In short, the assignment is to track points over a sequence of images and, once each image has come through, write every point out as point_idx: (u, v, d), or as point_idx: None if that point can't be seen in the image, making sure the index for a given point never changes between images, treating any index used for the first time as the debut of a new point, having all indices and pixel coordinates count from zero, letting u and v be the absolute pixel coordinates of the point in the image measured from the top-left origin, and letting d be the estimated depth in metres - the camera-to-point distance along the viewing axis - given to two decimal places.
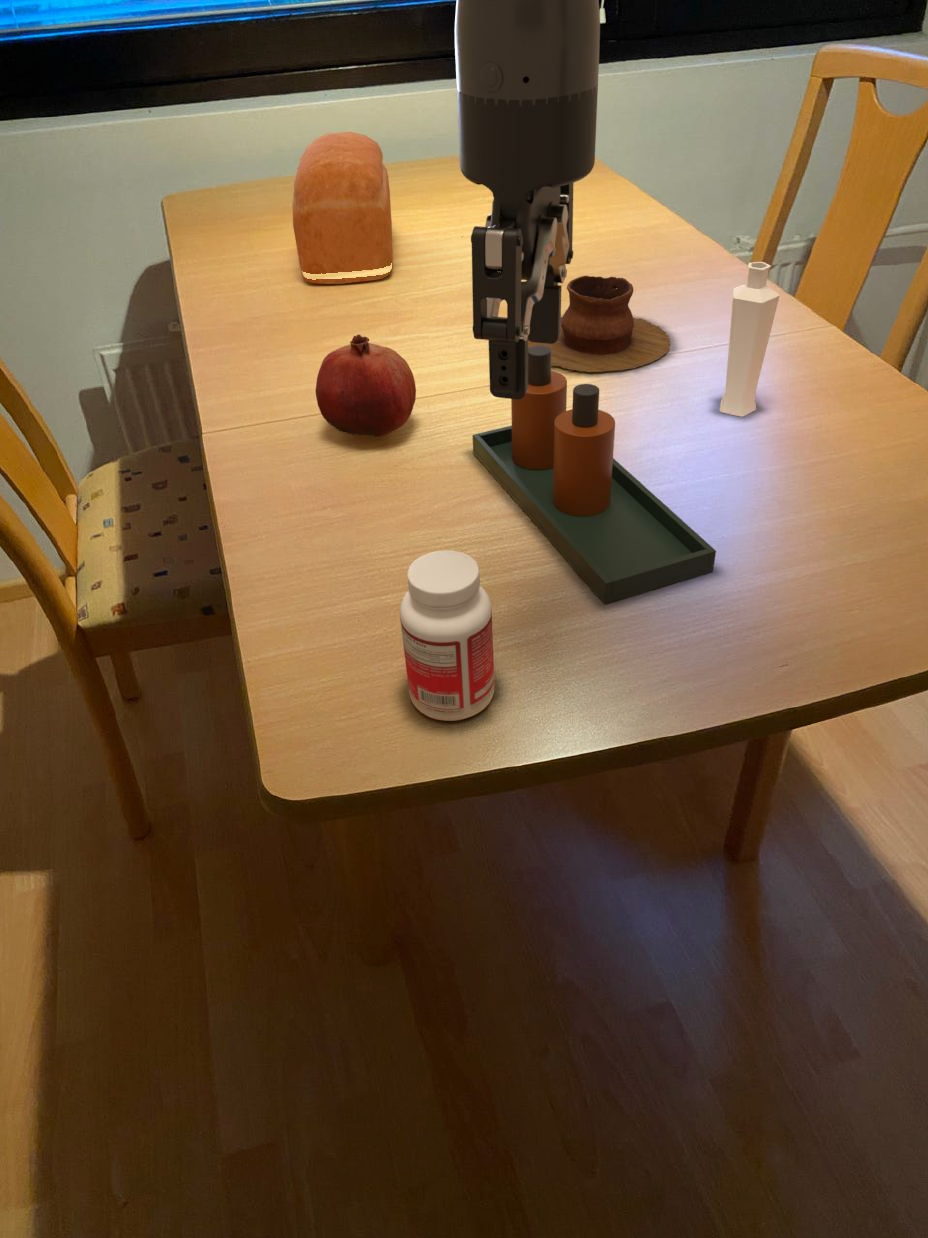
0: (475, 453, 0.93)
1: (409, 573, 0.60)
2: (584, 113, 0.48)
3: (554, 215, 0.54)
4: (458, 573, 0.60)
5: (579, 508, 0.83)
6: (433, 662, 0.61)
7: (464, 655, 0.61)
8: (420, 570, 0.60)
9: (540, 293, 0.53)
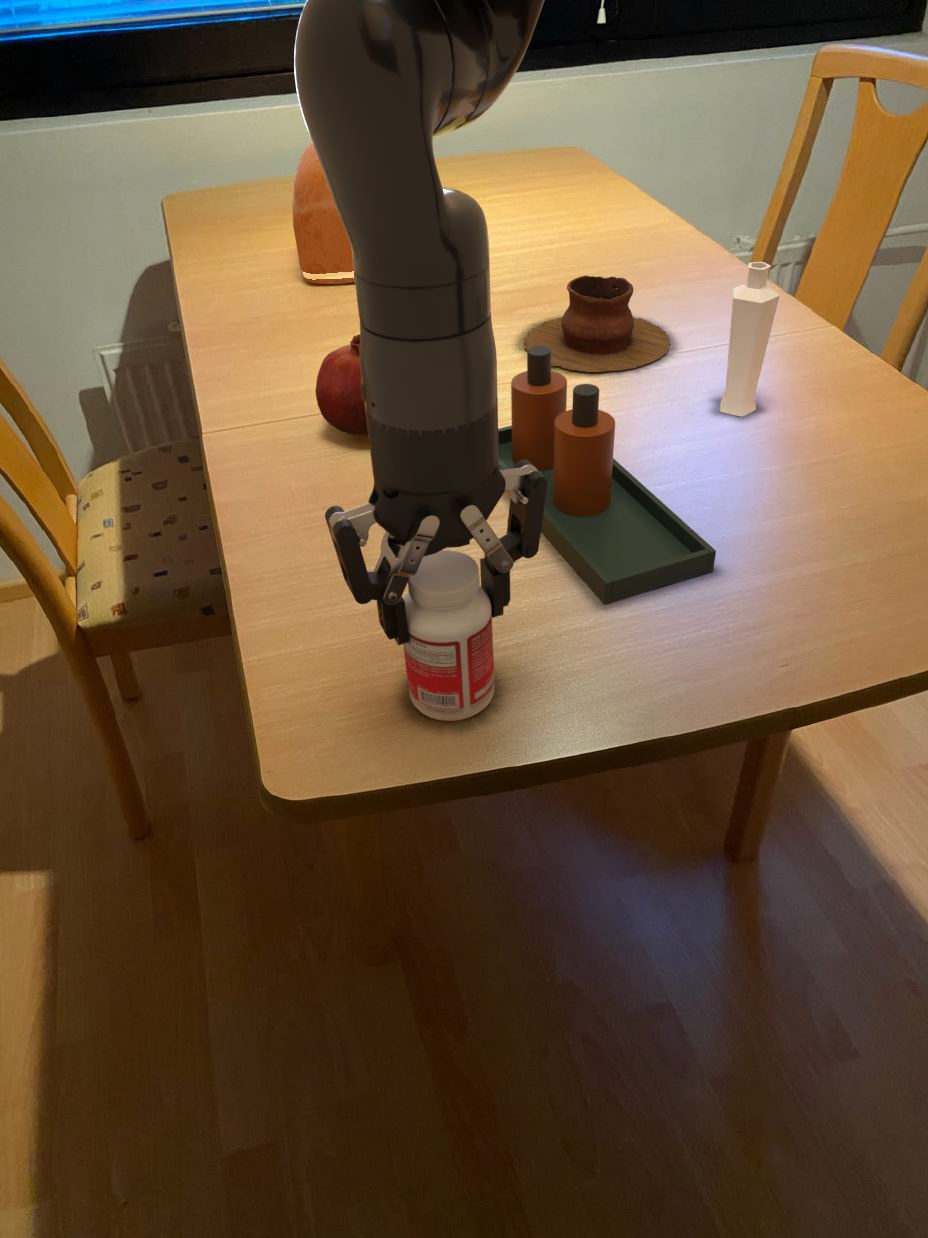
0: None
1: None
2: (429, 447, 0.50)
3: (457, 510, 0.56)
4: (457, 573, 0.60)
5: (579, 508, 0.83)
6: (433, 662, 0.61)
7: (464, 655, 0.61)
8: (420, 570, 0.60)
9: (408, 572, 0.57)
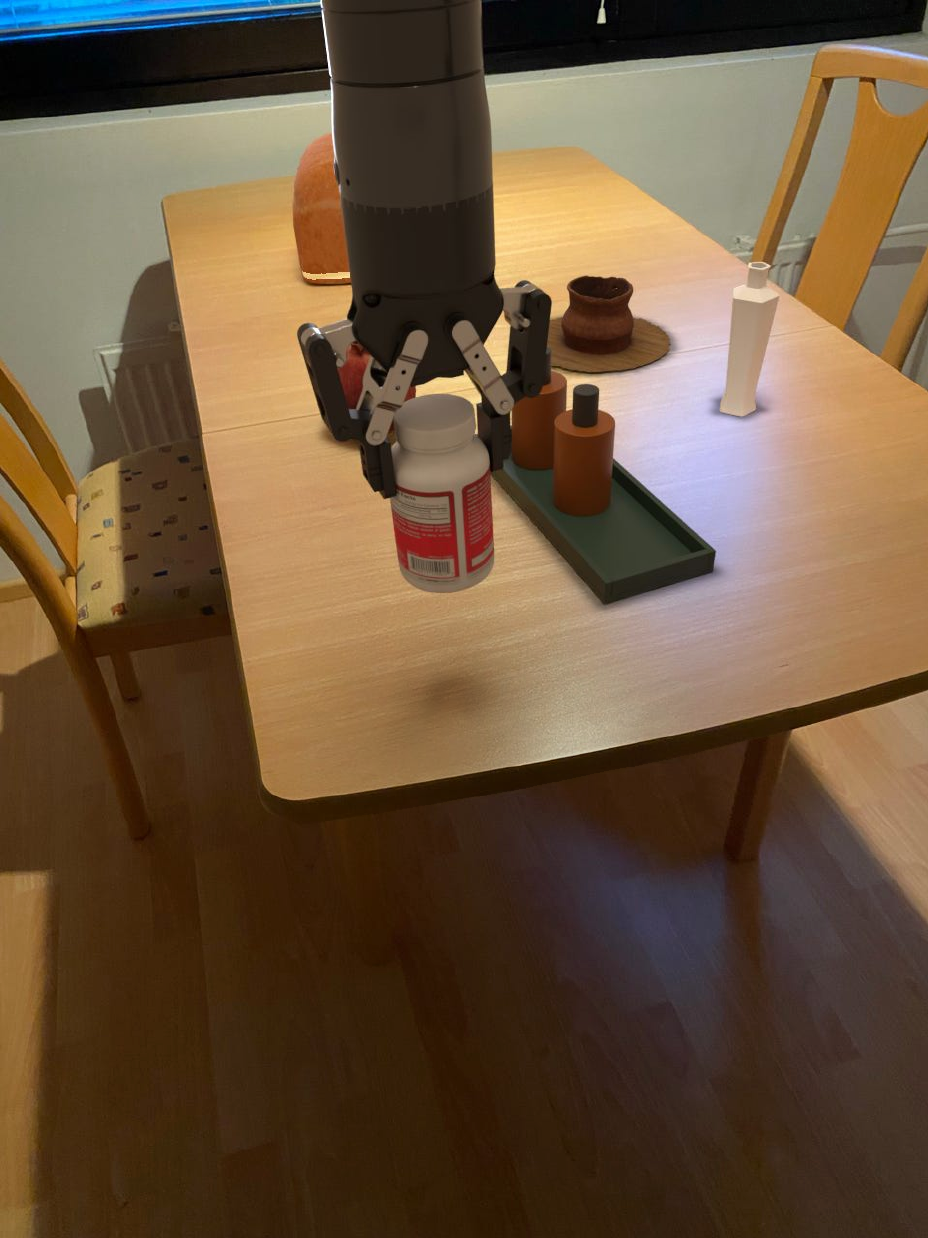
0: None
1: (395, 415, 0.53)
2: (414, 230, 0.43)
3: (449, 327, 0.49)
4: (450, 413, 0.53)
5: (579, 508, 0.83)
6: (424, 518, 0.54)
7: (459, 509, 0.54)
8: (408, 411, 0.53)
9: (393, 403, 0.50)
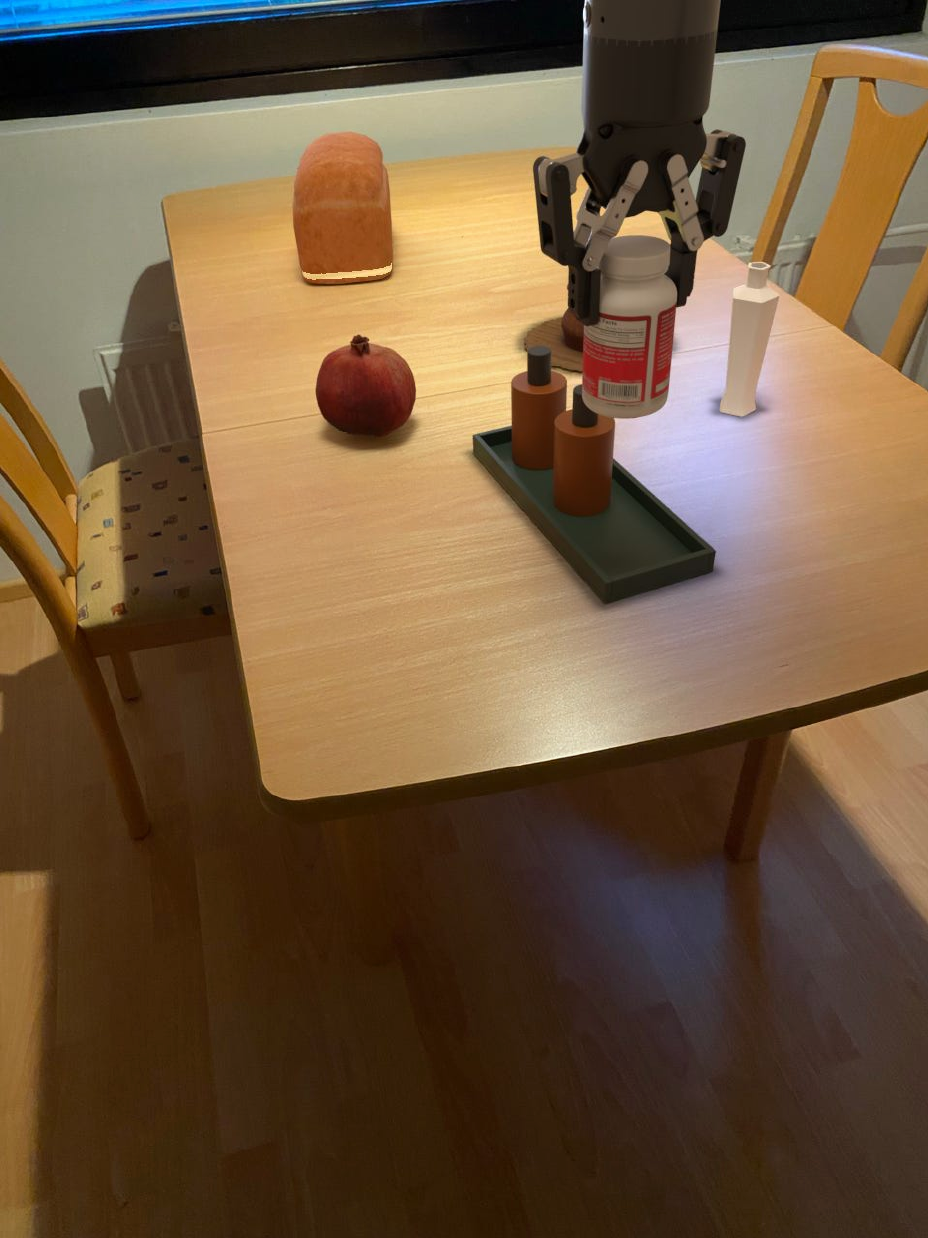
0: (475, 453, 0.93)
1: None
2: (659, 60, 0.51)
3: (663, 161, 0.56)
4: (650, 247, 0.60)
5: (579, 508, 0.83)
6: (622, 342, 0.62)
7: (653, 334, 0.61)
8: (611, 246, 0.61)
9: (611, 230, 0.57)
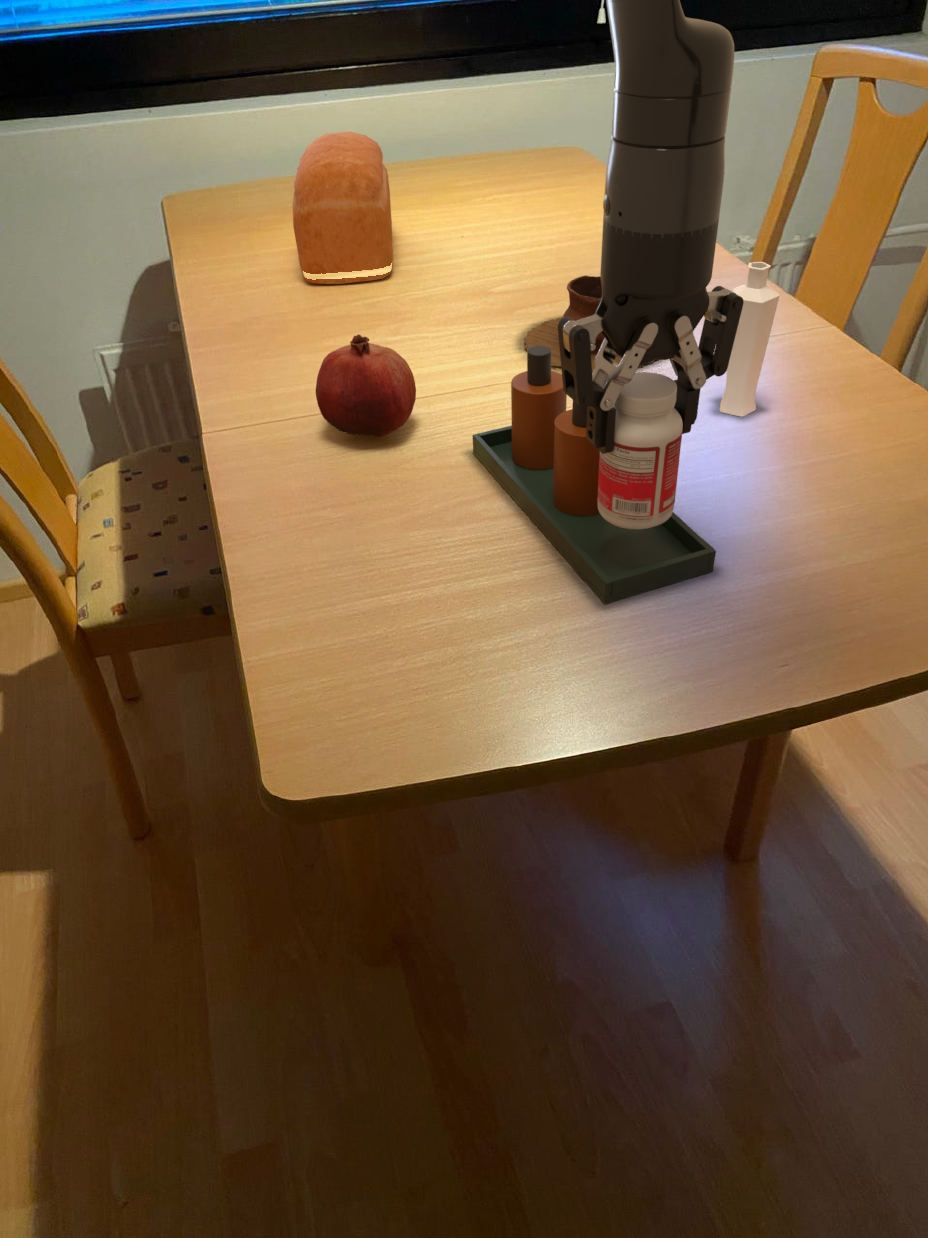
0: (475, 453, 0.93)
1: None
2: (668, 250, 0.59)
3: (671, 321, 0.65)
4: (659, 386, 0.69)
5: (579, 508, 0.83)
6: (634, 468, 0.70)
7: (661, 461, 0.70)
8: (625, 385, 0.69)
9: (625, 378, 0.66)
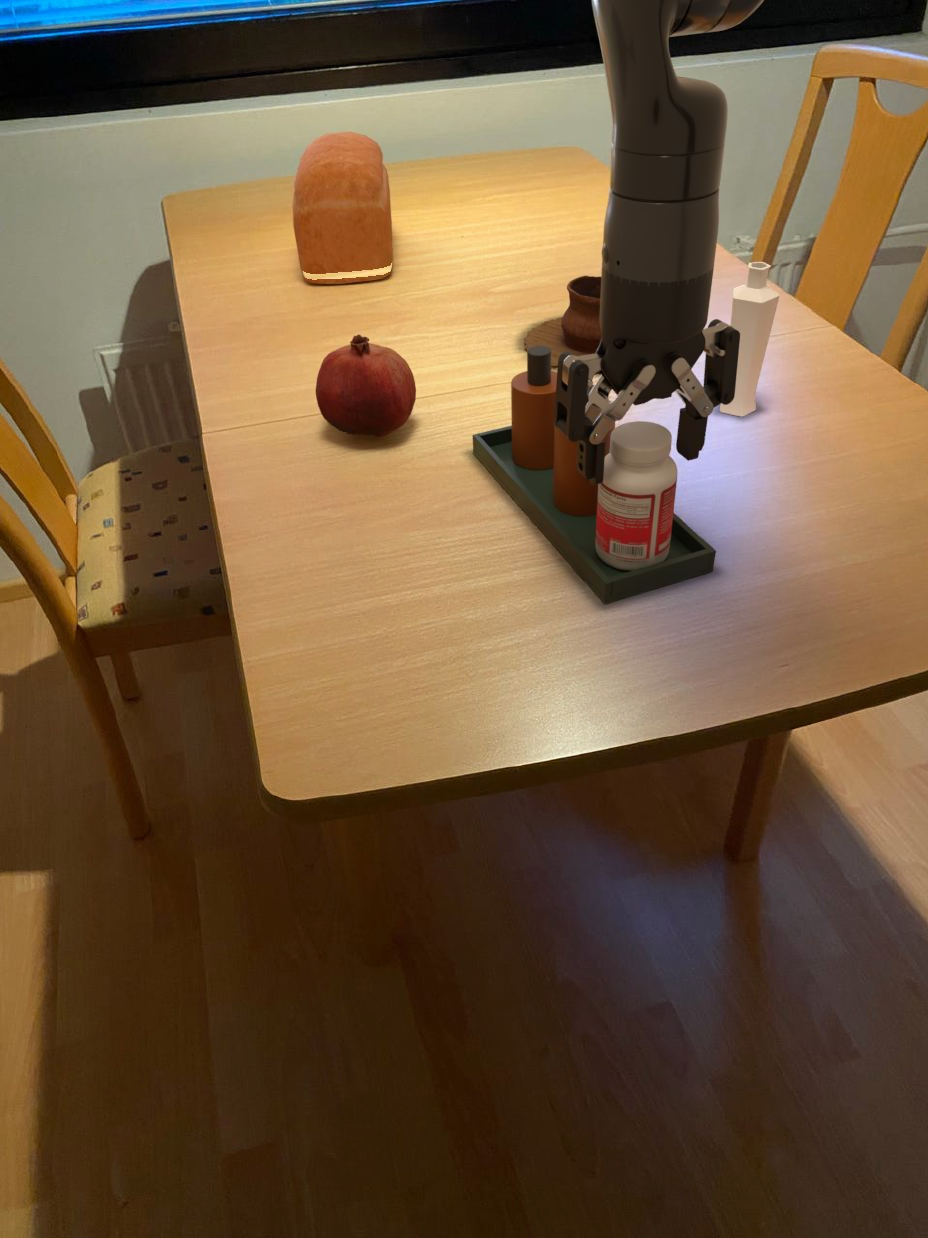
0: (475, 453, 0.93)
1: (613, 437, 0.71)
2: (665, 297, 0.61)
3: (668, 362, 0.67)
4: (654, 436, 0.71)
5: (579, 508, 0.83)
6: (630, 514, 0.73)
7: (657, 507, 0.72)
8: (621, 434, 0.72)
9: (617, 415, 0.67)
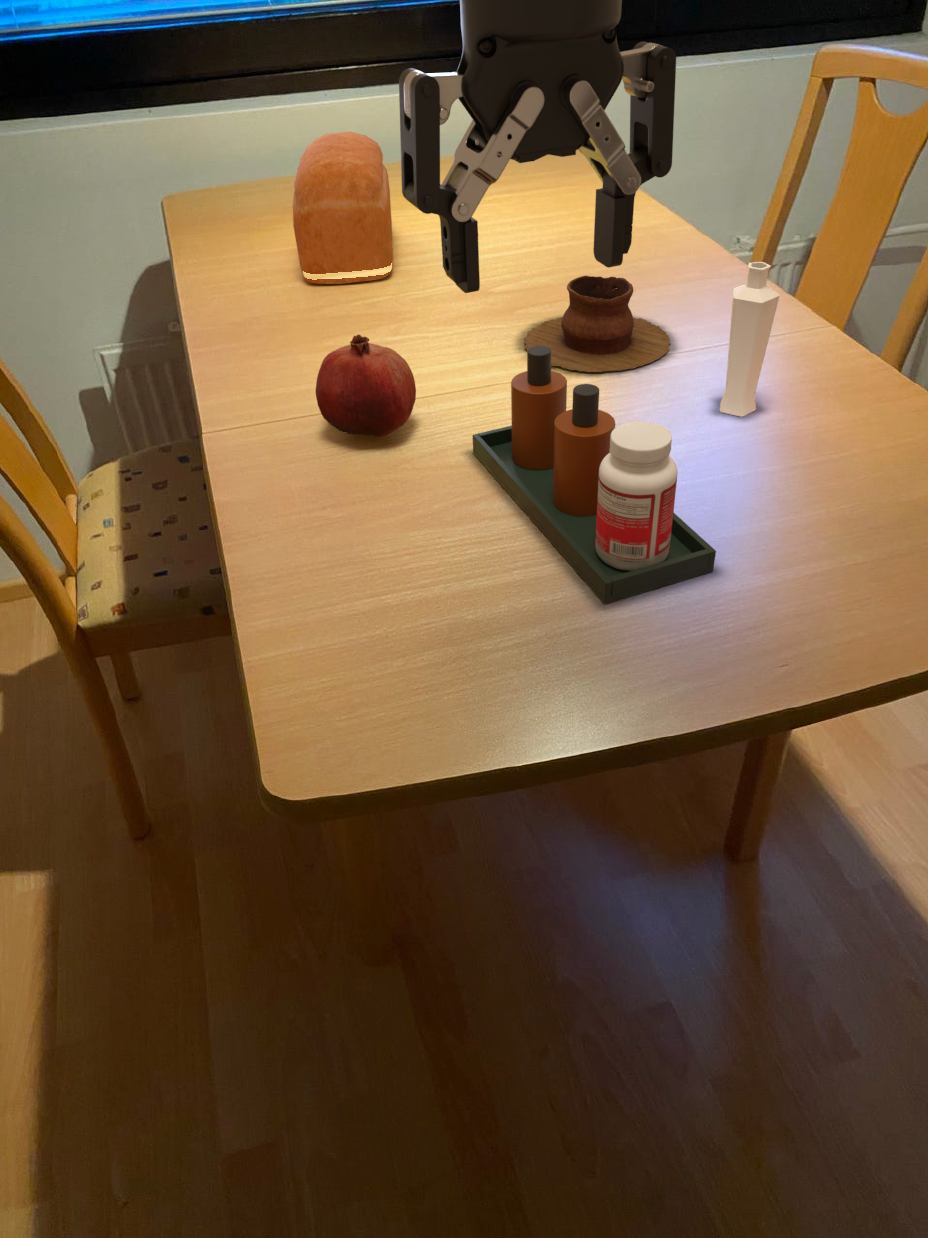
0: (475, 453, 0.93)
1: (613, 437, 0.71)
2: None
3: (566, 90, 0.45)
4: (654, 436, 0.71)
5: (579, 508, 0.83)
6: (630, 514, 0.73)
7: (657, 507, 0.72)
8: (621, 435, 0.72)
9: (490, 172, 0.45)
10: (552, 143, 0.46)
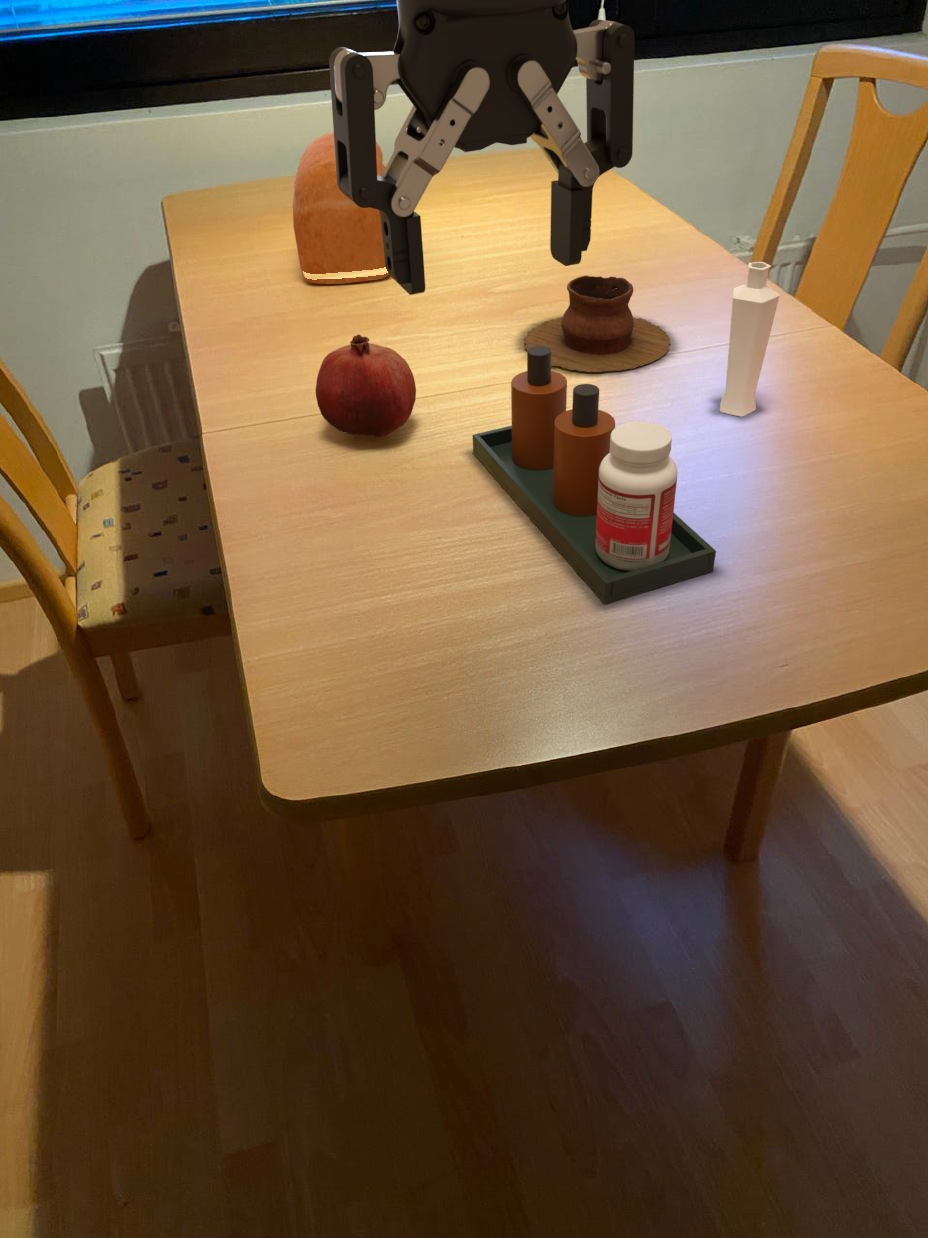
0: (475, 453, 0.93)
1: (612, 437, 0.71)
2: None
3: (513, 71, 0.41)
4: (654, 436, 0.71)
5: (579, 508, 0.83)
6: (630, 514, 0.73)
7: (657, 507, 0.72)
8: (621, 435, 0.72)
9: (432, 161, 0.41)
10: (500, 130, 0.42)
